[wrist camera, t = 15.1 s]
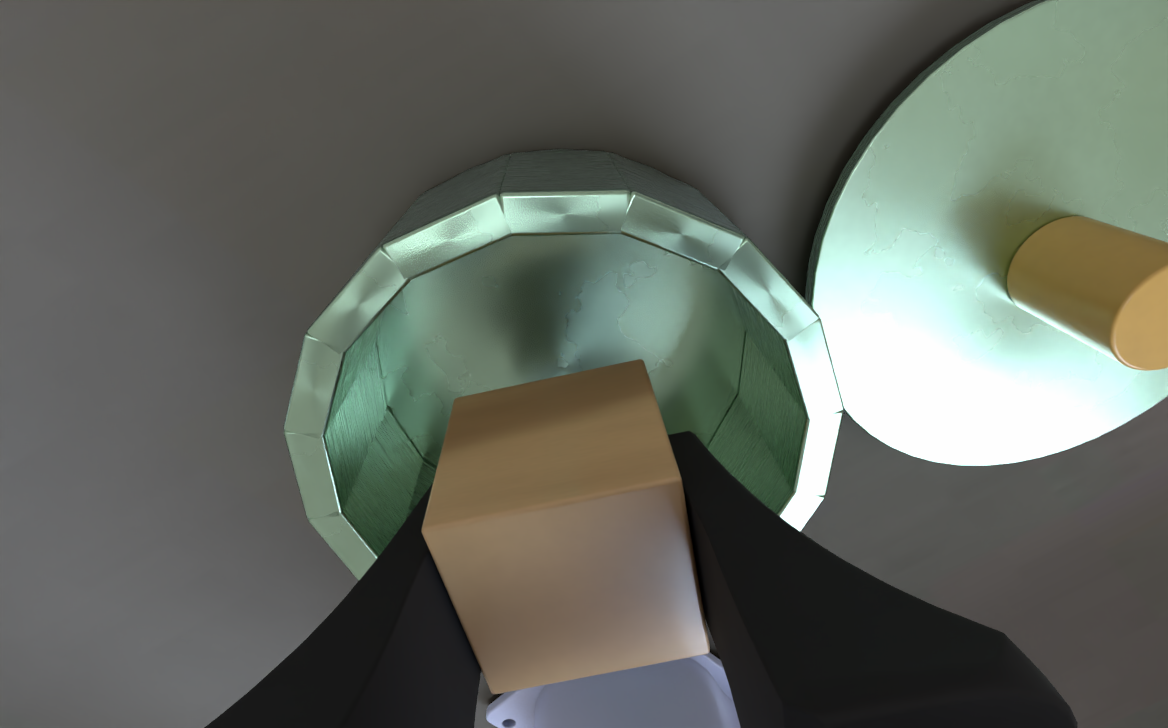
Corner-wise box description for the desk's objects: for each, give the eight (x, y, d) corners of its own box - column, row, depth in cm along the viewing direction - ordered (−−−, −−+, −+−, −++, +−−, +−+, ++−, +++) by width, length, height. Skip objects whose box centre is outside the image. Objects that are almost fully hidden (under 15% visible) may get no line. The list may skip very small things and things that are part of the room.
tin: (846, 353, 18) (942, 451, 14) (569, 574, 21) (575, 710, 17) (556, 36, 14) (561, 32, 10) (268, 372, 17) (176, 482, 13)
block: (452, 396, 13) (418, 531, 9) (643, 356, 13) (682, 477, 9) (503, 539, 15) (491, 697, 11) (670, 505, 15) (711, 655, 11)
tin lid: (1335, 245, 17) (1572, 304, 13) (943, 510, 21) (1036, 619, 17) (1164, -169, 13) (1443, -265, 9) (701, 261, 17) (752, 330, 13)
